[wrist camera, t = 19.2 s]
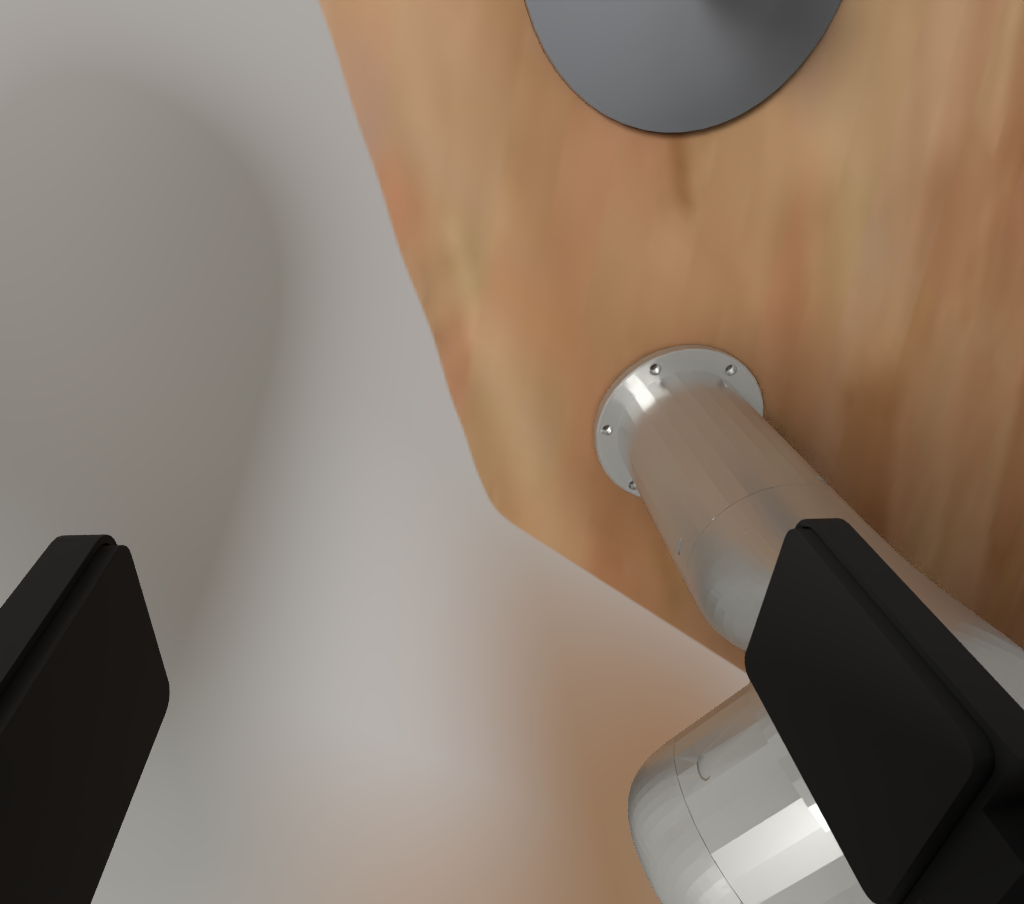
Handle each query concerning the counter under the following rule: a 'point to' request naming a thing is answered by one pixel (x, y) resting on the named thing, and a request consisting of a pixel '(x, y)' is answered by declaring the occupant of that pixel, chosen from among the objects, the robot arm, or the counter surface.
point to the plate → (677, 54)
